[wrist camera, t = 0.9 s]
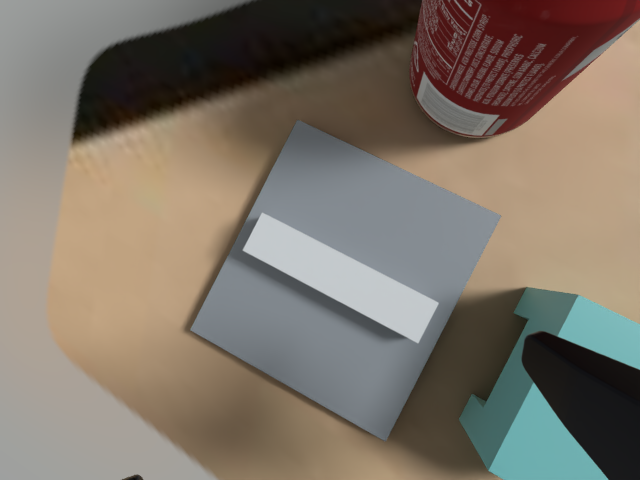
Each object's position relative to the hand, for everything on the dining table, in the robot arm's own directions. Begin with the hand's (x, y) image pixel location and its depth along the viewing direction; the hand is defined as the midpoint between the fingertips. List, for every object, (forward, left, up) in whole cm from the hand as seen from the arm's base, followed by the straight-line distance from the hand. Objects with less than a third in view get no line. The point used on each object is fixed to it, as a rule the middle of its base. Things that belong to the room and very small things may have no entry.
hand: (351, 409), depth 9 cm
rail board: (+2, -2, -12) cm, 12 cm away
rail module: (-8, -2, -12) cm, 15 cm away
